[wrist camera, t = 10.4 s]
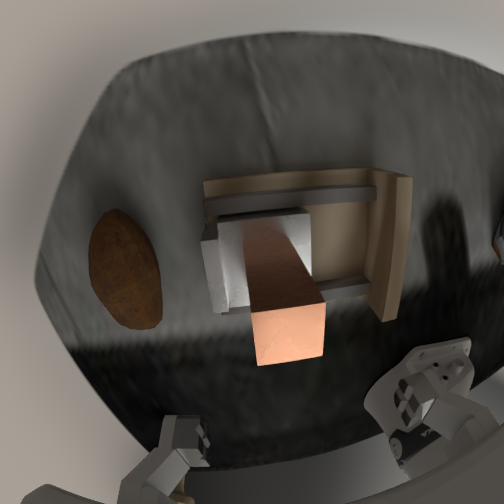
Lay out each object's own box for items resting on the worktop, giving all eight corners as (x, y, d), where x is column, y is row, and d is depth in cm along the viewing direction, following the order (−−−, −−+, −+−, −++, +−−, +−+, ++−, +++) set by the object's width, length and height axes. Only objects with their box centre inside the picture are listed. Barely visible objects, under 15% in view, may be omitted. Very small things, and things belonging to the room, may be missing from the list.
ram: (301, 205, 23) (360, 261, 12) (303, 281, 26) (346, 371, 15) (204, 215, 23) (181, 284, 12) (217, 292, 26) (211, 391, 15)
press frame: (375, 167, 23) (412, 177, 18) (369, 287, 28) (395, 318, 23) (204, 180, 23) (195, 192, 17) (224, 308, 28) (223, 348, 22)
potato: (129, 313, 27) (108, 354, 21) (88, 214, 23) (49, 238, 17) (184, 302, 27) (174, 347, 21) (147, 193, 23) (118, 213, 17)
